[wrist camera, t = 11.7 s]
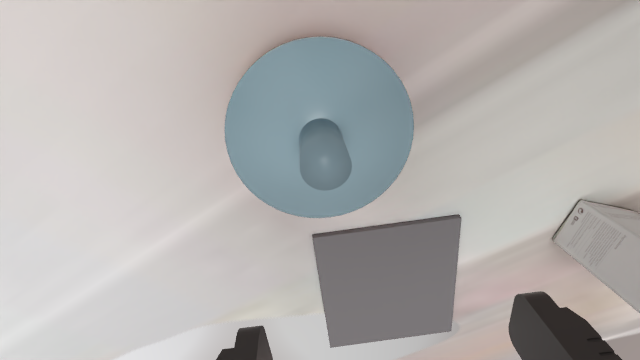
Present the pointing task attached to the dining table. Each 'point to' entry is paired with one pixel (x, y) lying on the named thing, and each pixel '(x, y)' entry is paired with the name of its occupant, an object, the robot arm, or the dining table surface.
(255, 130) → the lid
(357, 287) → the mat
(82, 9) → the dining table surface
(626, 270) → the skincare box
